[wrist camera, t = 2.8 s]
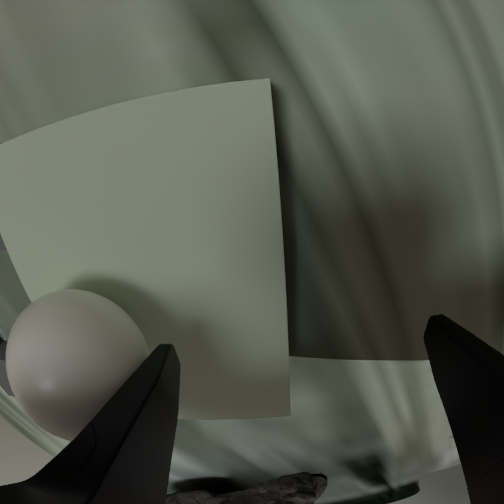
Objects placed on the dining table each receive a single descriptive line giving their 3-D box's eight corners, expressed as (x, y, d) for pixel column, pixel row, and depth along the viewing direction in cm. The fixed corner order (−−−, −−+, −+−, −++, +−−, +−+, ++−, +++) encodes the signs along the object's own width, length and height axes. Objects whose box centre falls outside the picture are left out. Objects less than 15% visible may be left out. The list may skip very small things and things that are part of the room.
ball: (147, 256, 9) (66, 390, 5) (184, 366, 12) (150, 482, 7) (34, 260, 10) (-47, 352, 6) (82, 356, 12) (36, 445, 8)
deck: (266, 79, 8) (269, 78, 7) (288, 391, 15) (290, 415, 14) (-81, 187, 9) (-99, 199, 8) (16, 379, 16) (8, 394, 15)
